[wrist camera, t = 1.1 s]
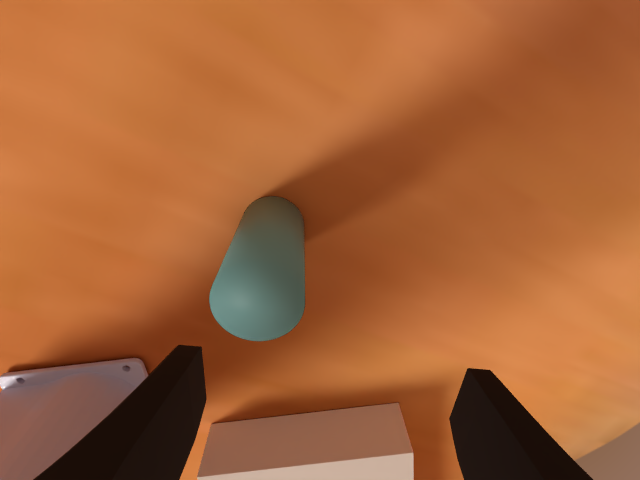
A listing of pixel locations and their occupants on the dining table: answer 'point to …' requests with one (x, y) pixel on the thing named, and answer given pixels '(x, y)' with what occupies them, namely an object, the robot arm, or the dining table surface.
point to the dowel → (262, 273)
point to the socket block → (312, 447)
